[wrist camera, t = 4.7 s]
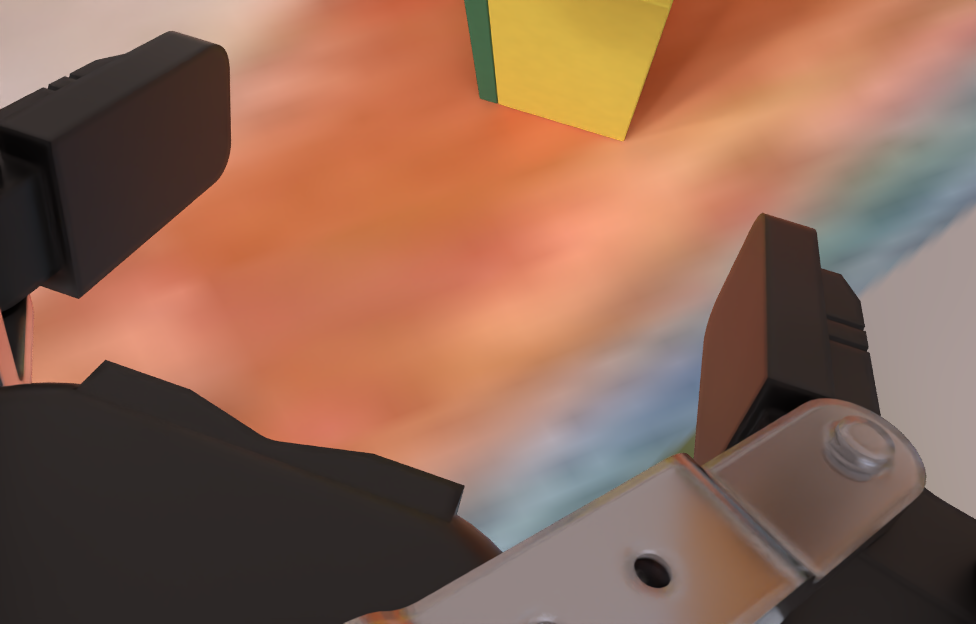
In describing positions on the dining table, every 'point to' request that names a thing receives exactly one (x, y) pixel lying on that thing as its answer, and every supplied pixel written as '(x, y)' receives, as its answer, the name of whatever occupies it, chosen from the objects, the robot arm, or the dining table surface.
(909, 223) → the dining table surface
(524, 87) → the sponge
